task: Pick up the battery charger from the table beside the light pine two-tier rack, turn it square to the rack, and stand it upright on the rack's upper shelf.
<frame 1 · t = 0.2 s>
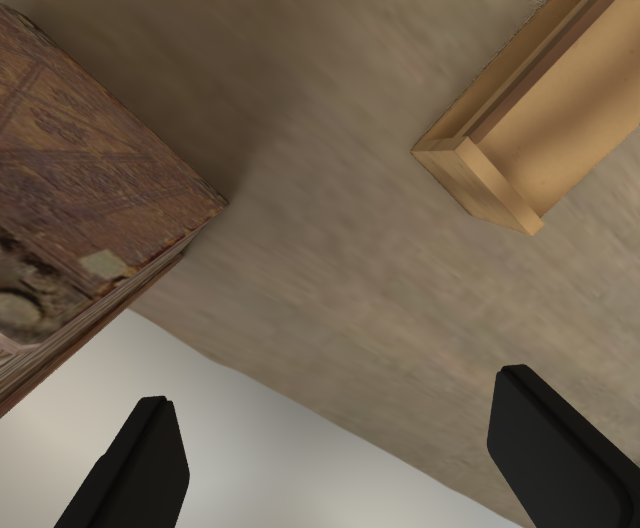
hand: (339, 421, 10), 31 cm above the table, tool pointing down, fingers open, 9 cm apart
book: (113, 151, 35), on the table
rack: (513, 108, 37), on the table
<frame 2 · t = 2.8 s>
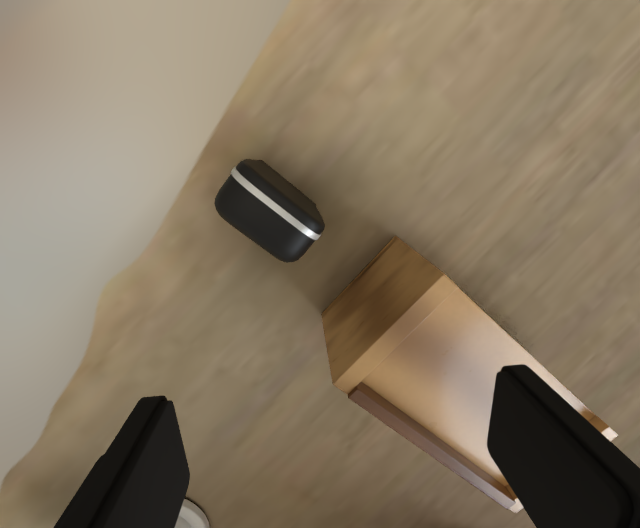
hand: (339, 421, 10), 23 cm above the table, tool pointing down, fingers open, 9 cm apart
battery charger: (276, 198, 30), on the table
rack: (429, 336, 36), on the table
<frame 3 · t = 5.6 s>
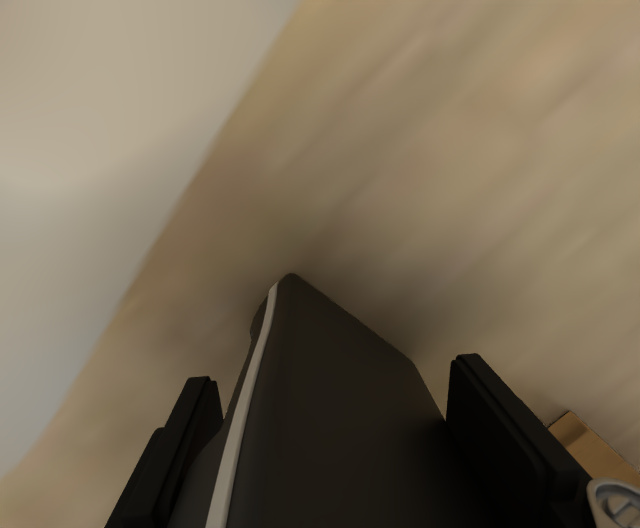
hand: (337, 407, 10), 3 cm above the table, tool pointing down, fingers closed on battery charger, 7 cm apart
battery charger: (324, 346, 13), on the table, touching gripper
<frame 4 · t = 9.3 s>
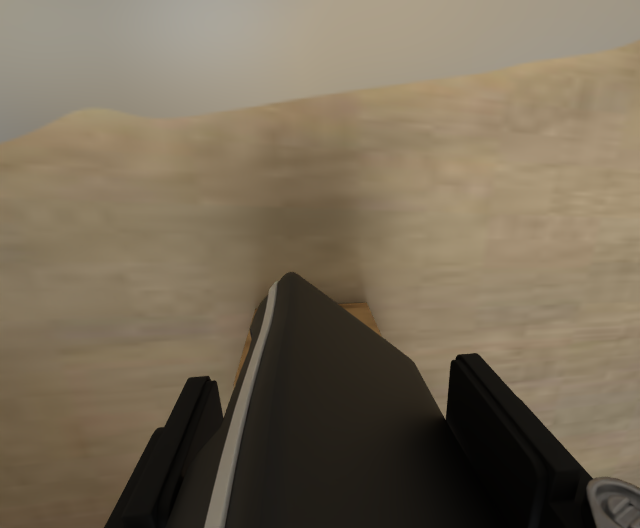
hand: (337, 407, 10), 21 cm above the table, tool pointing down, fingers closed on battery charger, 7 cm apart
battery charger: (324, 344, 13), point 18 cm above the table, touching gripper
rack: (315, 396, 36), on the table
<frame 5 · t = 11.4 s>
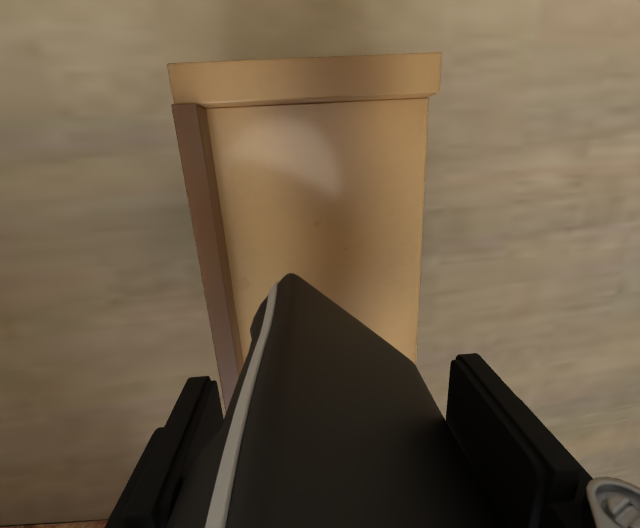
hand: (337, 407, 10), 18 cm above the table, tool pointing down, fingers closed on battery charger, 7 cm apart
battery charger: (324, 345, 13), point 15 cm above the table, touching gripper
rack: (311, 248, 27), on the table
when the fingers open (13 cm above the table, at t = 13.0 s): battery charger stays where it is, resting on rack.
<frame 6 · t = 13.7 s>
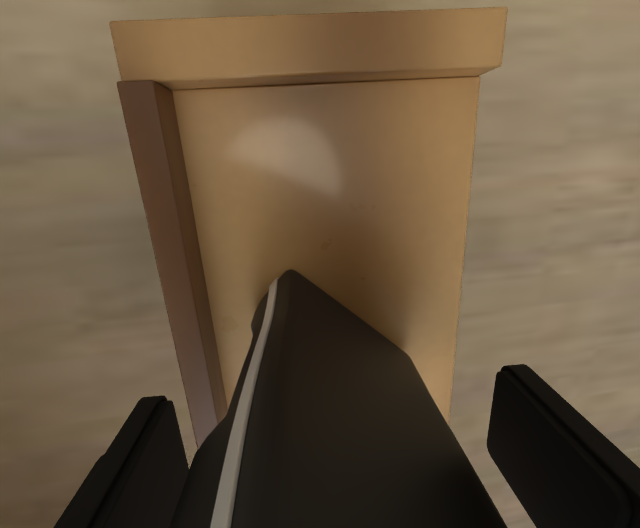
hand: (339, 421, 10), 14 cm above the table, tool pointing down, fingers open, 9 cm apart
battery charger: (323, 340, 14), point 10 cm above the table, touching rack
rack: (315, 264, 23), on the table
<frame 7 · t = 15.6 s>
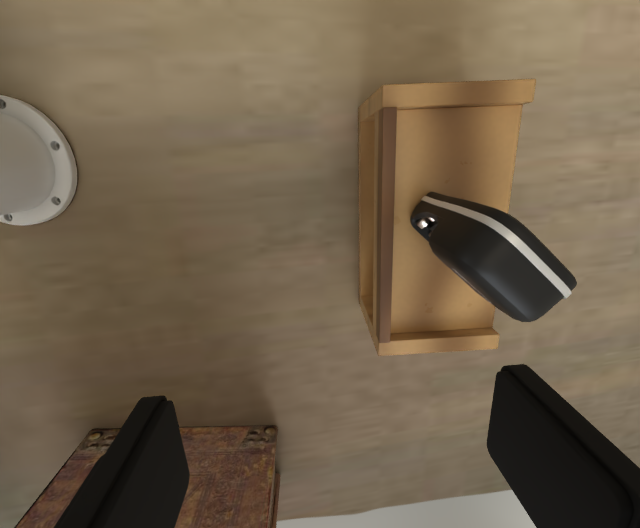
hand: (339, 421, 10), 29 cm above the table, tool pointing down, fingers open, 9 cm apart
battery charger: (438, 231, 28), point 10 cm above the table, touching rack
book: (190, 451, 47), on the table
rack: (407, 212, 37), on the table
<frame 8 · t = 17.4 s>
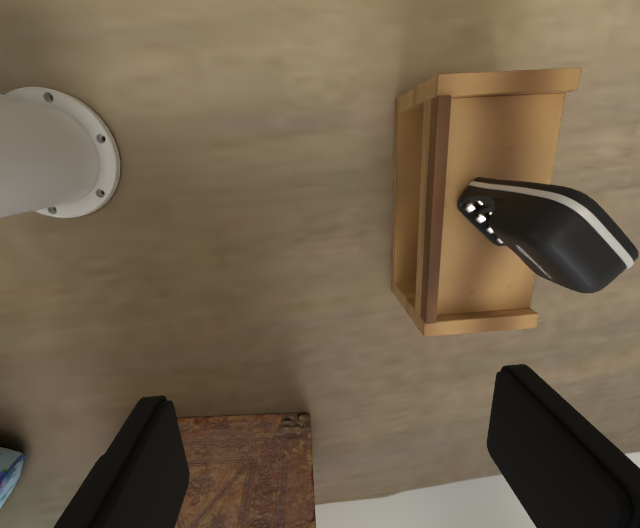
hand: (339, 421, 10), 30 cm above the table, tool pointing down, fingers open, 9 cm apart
battery charger: (482, 215, 29), point 10 cm above the table, touching rack
book: (223, 440, 48), on the table
rack: (439, 200, 38), on the table
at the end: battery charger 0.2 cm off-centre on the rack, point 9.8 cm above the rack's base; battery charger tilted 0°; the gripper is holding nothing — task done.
